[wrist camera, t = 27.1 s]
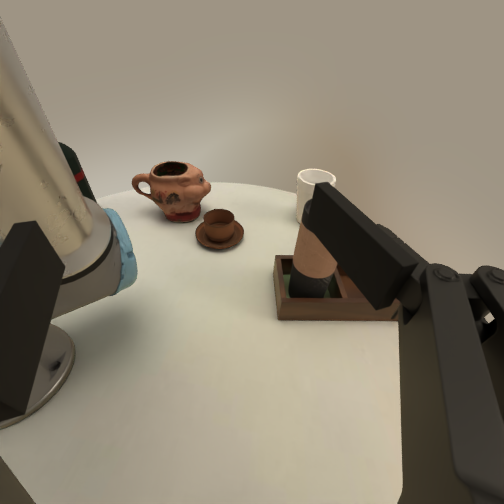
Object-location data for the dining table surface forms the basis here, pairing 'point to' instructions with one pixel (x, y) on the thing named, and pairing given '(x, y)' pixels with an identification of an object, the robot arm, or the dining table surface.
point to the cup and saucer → (219, 229)
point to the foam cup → (309, 186)
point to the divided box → (325, 299)
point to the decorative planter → (175, 189)
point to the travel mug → (310, 263)
